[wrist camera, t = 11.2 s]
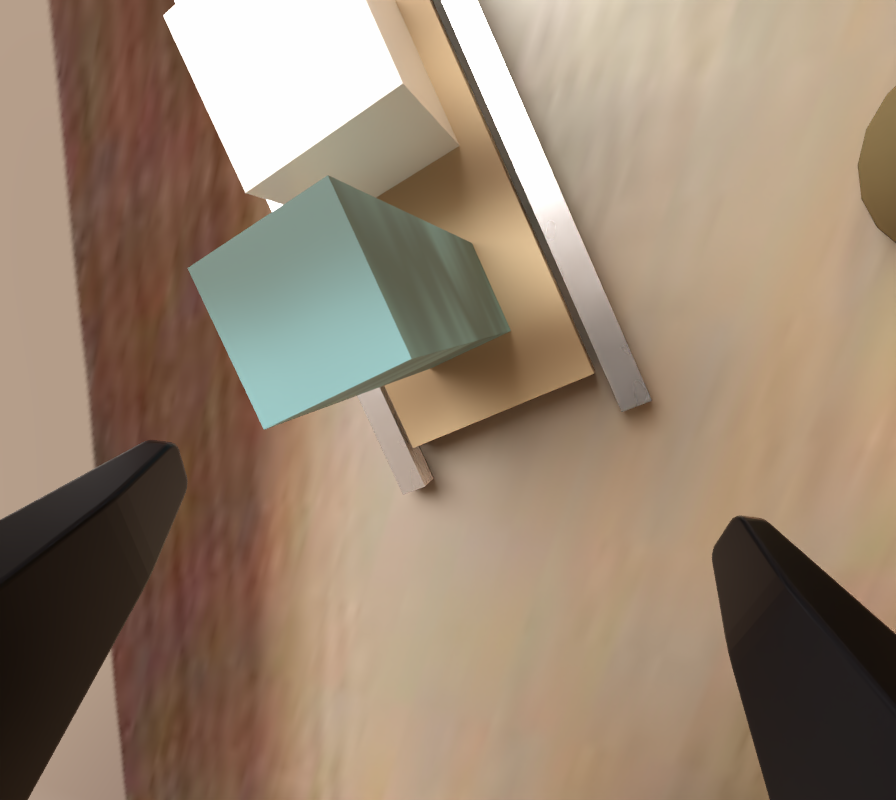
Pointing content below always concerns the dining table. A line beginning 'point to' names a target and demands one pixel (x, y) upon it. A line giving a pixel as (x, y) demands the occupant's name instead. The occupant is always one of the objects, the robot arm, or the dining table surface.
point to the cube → (312, 91)
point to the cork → (880, 166)
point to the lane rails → (555, 227)
